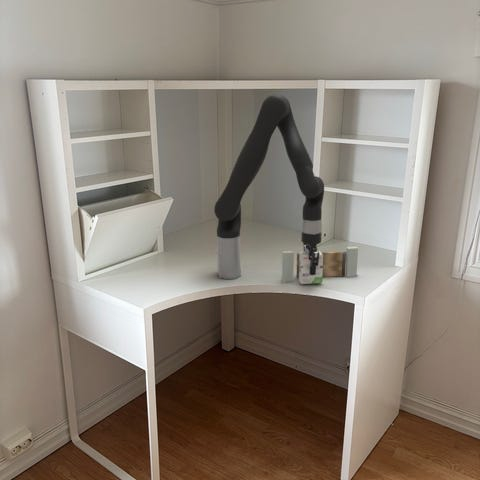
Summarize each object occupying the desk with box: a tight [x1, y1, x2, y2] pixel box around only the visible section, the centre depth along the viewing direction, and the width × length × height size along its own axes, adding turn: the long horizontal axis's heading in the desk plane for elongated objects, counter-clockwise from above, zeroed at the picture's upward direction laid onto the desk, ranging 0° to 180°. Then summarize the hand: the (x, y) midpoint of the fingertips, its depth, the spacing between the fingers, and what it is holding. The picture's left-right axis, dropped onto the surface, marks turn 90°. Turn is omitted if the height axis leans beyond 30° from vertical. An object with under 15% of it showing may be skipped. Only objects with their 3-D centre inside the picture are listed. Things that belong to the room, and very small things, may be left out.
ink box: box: [298, 250, 323, 285], centre depth 190 cm, size 9×5×12 cm, turn 92°
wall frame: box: [281, 246, 359, 283], centre depth 195 cm, size 30×2×12 cm, turn 99°
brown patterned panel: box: [296, 251, 346, 278], centre depth 197 cm, size 20×2×10 cm, turn 90°
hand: (310, 271), depth 190 cm, fingers closed on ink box, 5 cm apart
